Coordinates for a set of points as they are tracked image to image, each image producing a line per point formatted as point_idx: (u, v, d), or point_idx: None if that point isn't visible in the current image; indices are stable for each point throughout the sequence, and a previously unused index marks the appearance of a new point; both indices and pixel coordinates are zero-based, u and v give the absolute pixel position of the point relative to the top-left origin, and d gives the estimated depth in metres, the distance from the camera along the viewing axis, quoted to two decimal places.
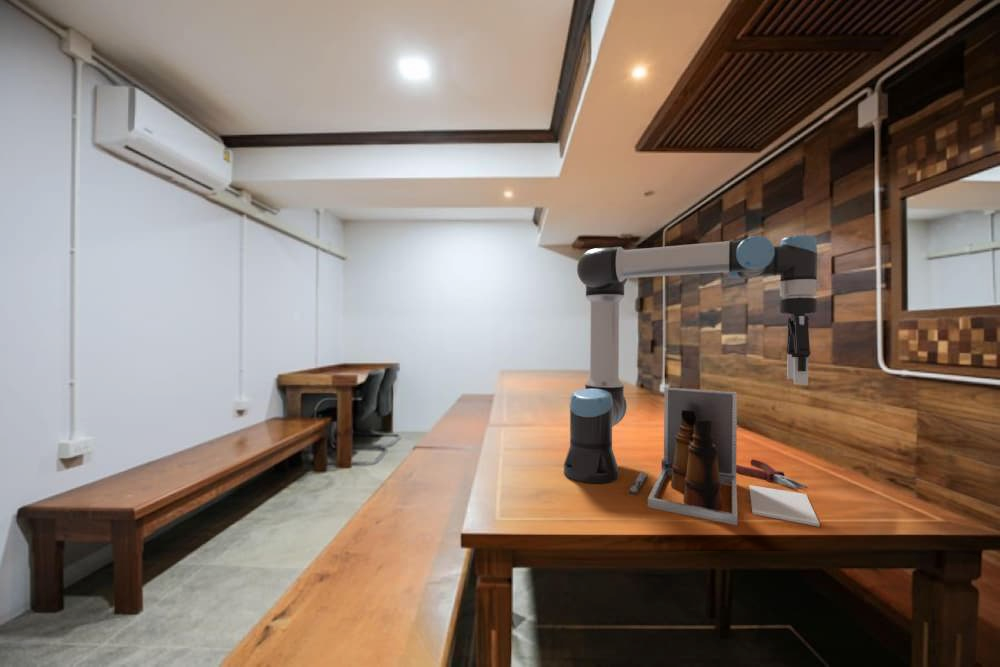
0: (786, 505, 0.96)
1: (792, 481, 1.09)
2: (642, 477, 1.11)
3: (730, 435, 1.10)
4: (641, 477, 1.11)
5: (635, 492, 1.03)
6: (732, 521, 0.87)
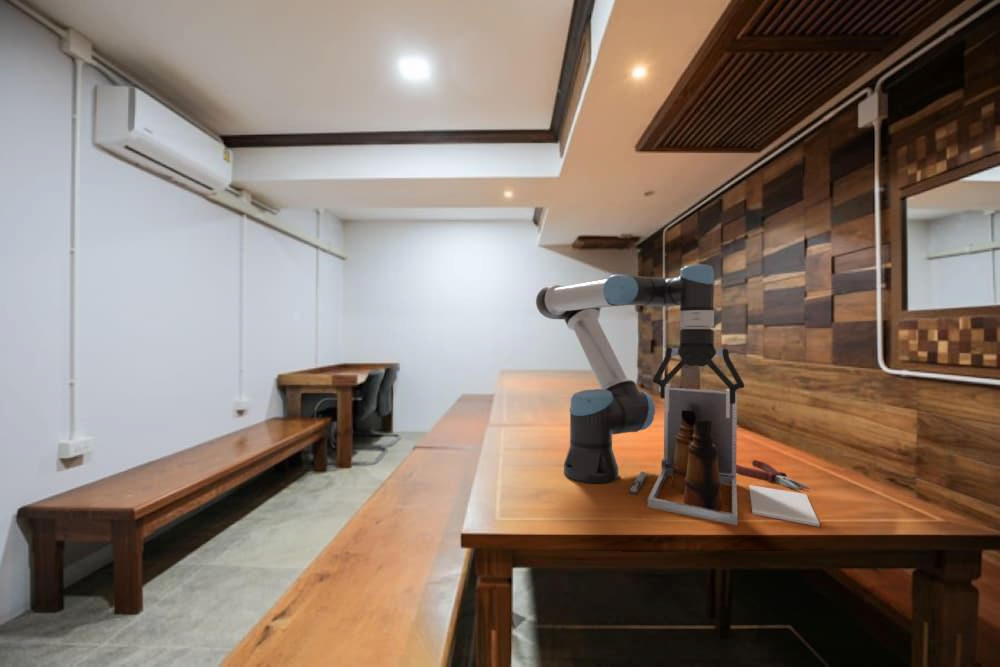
0: (786, 505, 0.96)
1: (794, 482, 1.08)
2: (642, 477, 1.11)
3: (730, 435, 1.10)
4: (641, 477, 1.11)
5: (635, 492, 1.03)
6: (732, 521, 0.87)
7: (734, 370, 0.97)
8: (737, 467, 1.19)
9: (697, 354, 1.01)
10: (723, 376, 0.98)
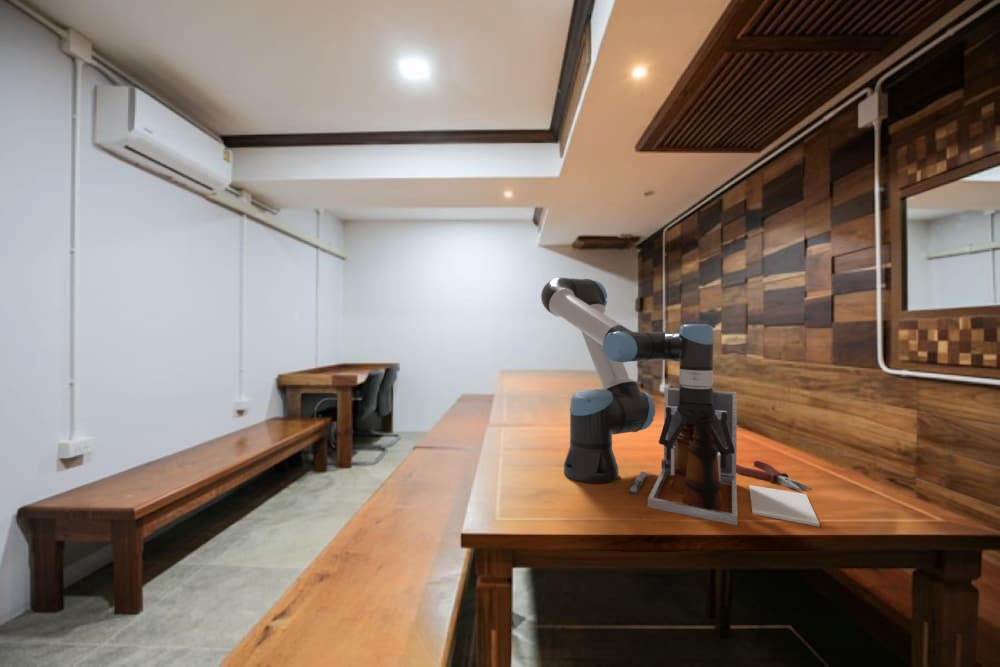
0: (786, 505, 0.96)
1: (796, 483, 1.08)
2: (642, 477, 1.11)
3: None
4: (641, 477, 1.11)
5: (635, 492, 1.03)
6: (732, 521, 0.87)
7: (728, 435, 0.98)
8: (739, 468, 1.18)
9: (696, 412, 1.01)
10: (716, 439, 0.99)
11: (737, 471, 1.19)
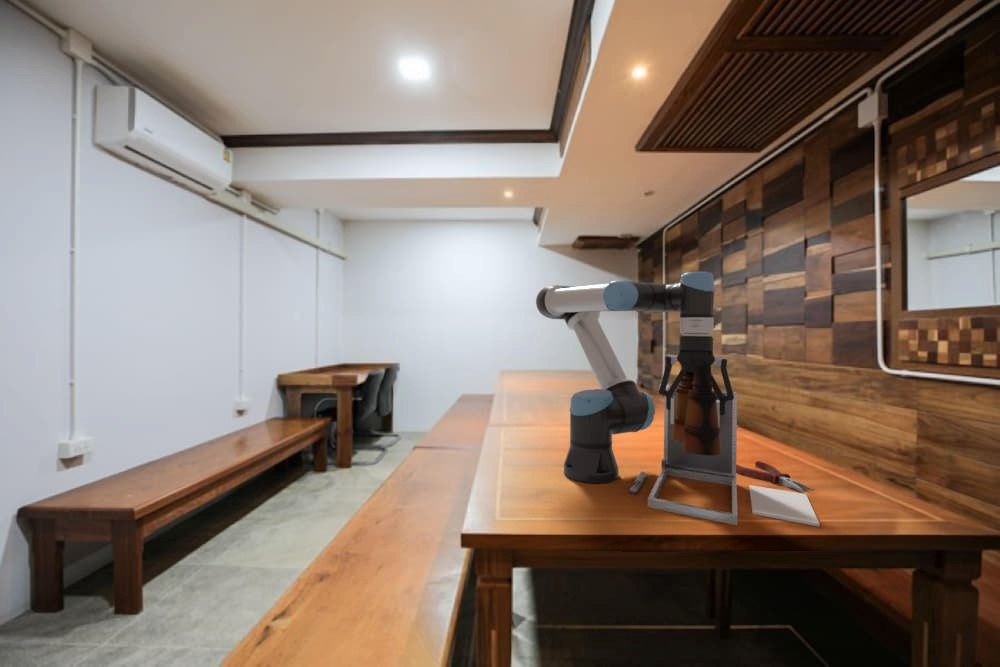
0: (786, 505, 0.96)
1: (798, 483, 1.07)
2: (642, 477, 1.11)
3: (730, 435, 1.10)
4: (641, 477, 1.11)
5: (635, 492, 1.03)
6: (732, 521, 0.87)
7: (728, 381, 0.98)
8: (740, 468, 1.18)
9: (696, 360, 1.01)
10: (716, 386, 0.99)
11: (738, 472, 1.18)
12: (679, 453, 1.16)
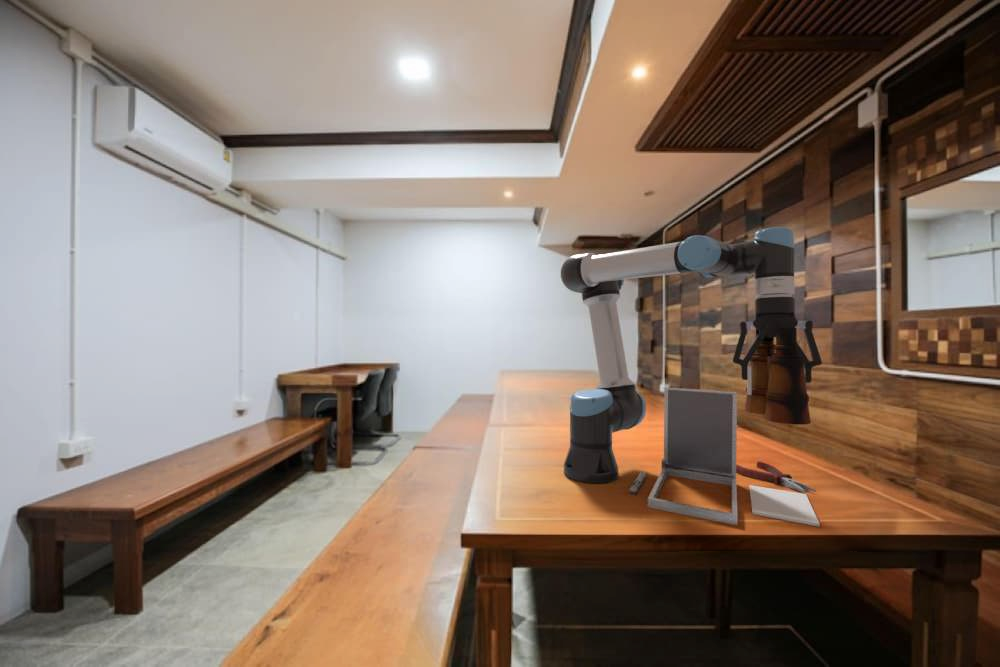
0: (786, 505, 0.96)
1: (800, 484, 1.07)
2: (641, 477, 1.11)
3: (730, 435, 1.10)
4: (640, 477, 1.11)
5: (635, 492, 1.03)
6: (732, 521, 0.87)
7: (814, 345, 0.89)
8: (742, 469, 1.17)
9: (776, 324, 0.93)
10: (800, 351, 0.91)
11: (740, 472, 1.18)
12: (679, 453, 1.16)
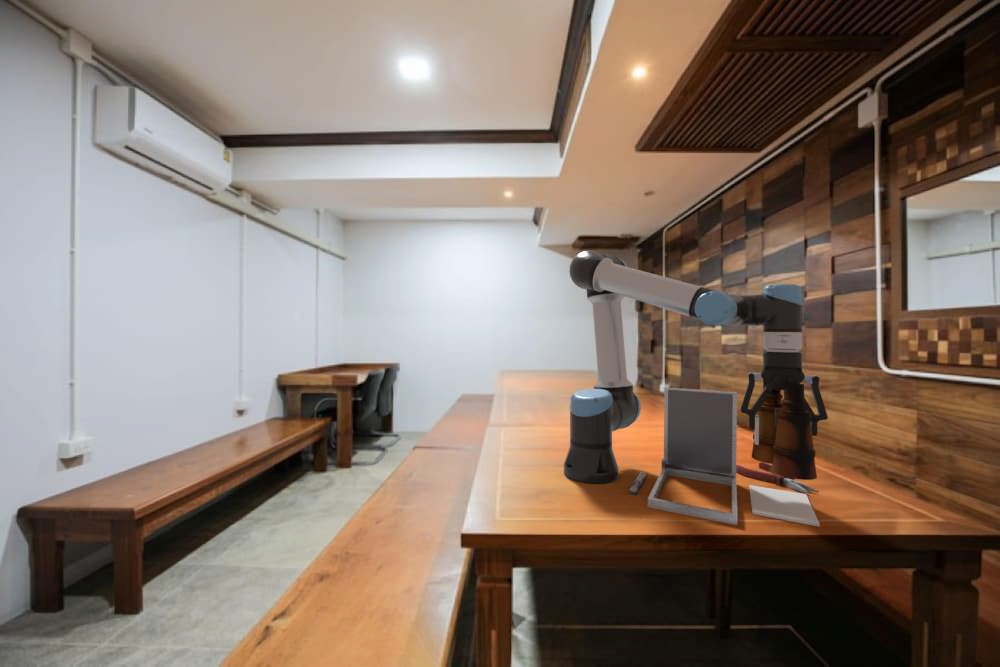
0: (786, 505, 0.96)
1: (803, 485, 1.06)
2: (641, 477, 1.11)
3: (730, 435, 1.10)
4: (640, 477, 1.11)
5: (635, 492, 1.03)
6: (732, 521, 0.87)
7: (821, 400, 0.92)
8: (744, 470, 1.17)
9: (784, 377, 0.96)
10: (807, 405, 0.94)
11: (742, 473, 1.17)
12: (679, 453, 1.16)
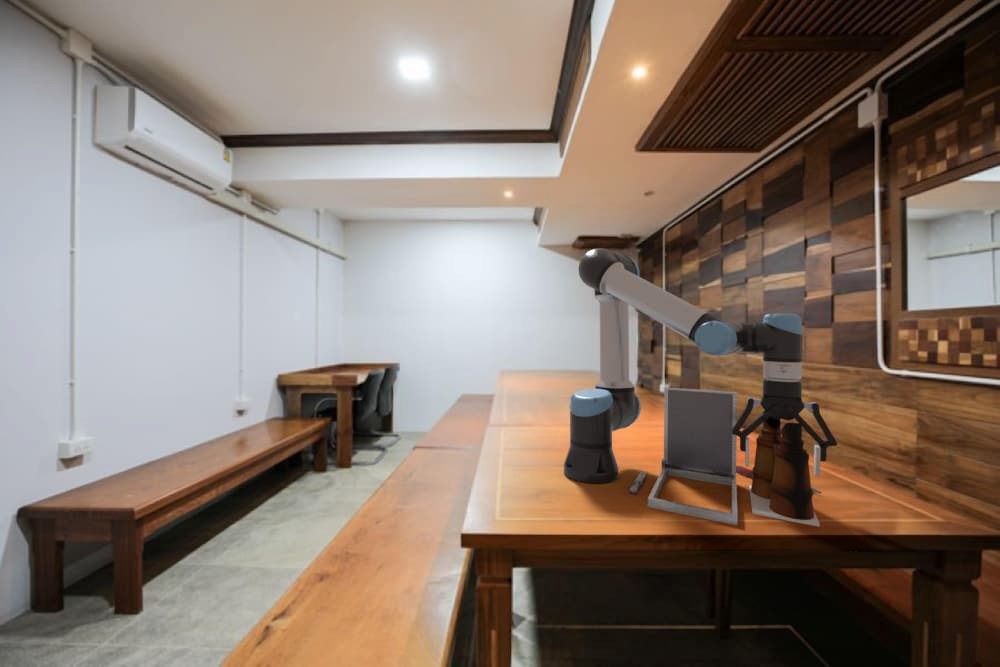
0: None
1: None
2: (642, 477, 1.11)
3: (730, 435, 1.10)
4: (640, 477, 1.11)
5: (635, 492, 1.03)
6: (732, 521, 0.87)
7: (826, 427, 0.92)
8: (746, 470, 1.16)
9: (783, 407, 0.96)
10: (813, 432, 0.93)
11: (744, 474, 1.16)
12: (679, 453, 1.16)
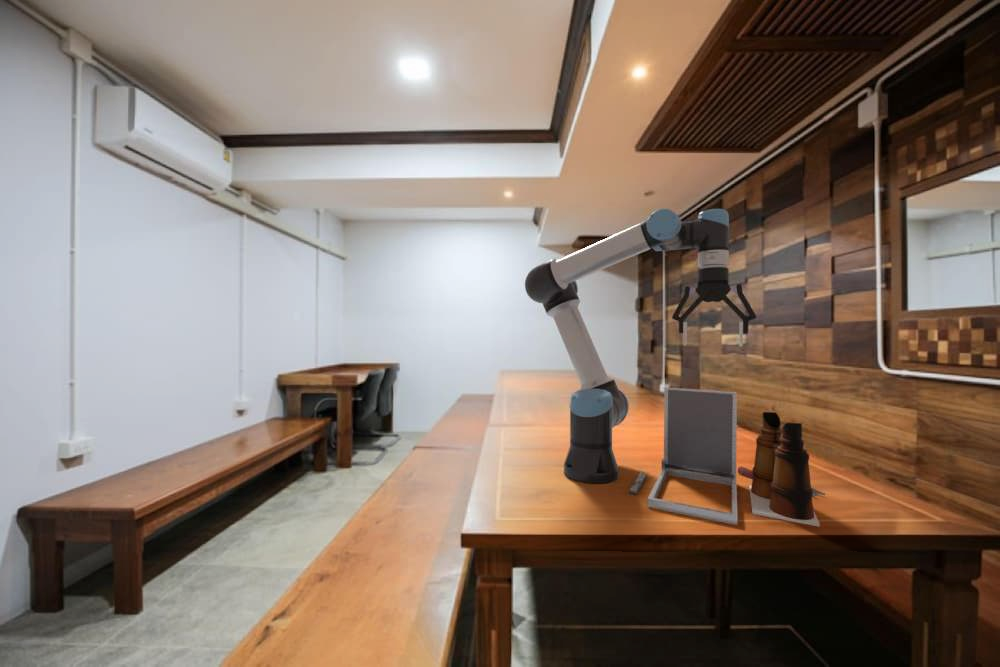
0: None
1: None
2: (642, 477, 1.11)
3: (730, 435, 1.10)
4: (641, 477, 1.11)
5: (635, 492, 1.03)
6: (732, 521, 0.87)
7: (747, 303, 1.08)
8: (748, 472, 1.15)
9: (713, 291, 1.12)
10: (737, 309, 1.09)
11: (747, 475, 1.15)
12: (679, 453, 1.16)
